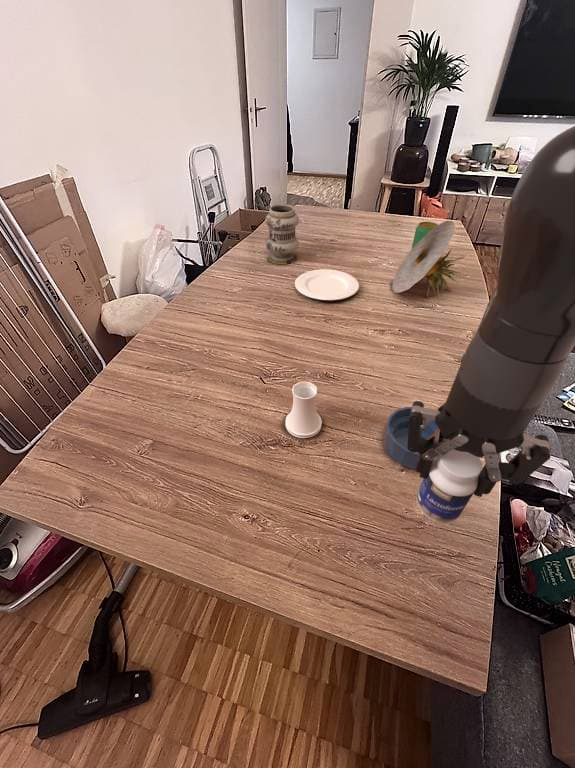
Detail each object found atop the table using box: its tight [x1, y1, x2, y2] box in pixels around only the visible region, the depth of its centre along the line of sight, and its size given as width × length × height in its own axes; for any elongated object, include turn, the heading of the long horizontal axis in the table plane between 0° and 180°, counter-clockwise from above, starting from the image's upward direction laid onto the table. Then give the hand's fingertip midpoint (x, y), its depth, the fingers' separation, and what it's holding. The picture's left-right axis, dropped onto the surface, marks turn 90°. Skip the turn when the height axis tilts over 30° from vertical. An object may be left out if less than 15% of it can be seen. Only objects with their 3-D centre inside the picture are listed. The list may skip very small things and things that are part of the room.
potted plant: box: [391, 220, 465, 298], centre depth 117 cm, size 25×18×25 cm
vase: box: [285, 381, 323, 439], centre depth 75 cm, size 8×8×10 cm
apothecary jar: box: [264, 203, 300, 265], centre depth 134 cm, size 12×12×18 cm
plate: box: [294, 268, 360, 302], centre depth 122 cm, size 21×21×2 cm
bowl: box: [382, 406, 438, 471], centre depth 73 cm, size 12×12×5 cm
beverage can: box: [410, 221, 439, 251], centre depth 136 cm, size 8×8×12 cm
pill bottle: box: [416, 449, 483, 524], centre depth 46 cm, size 6×6×10 cm
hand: (450, 480), depth 46 cm, fingers closed on pill bottle, 5 cm apart
